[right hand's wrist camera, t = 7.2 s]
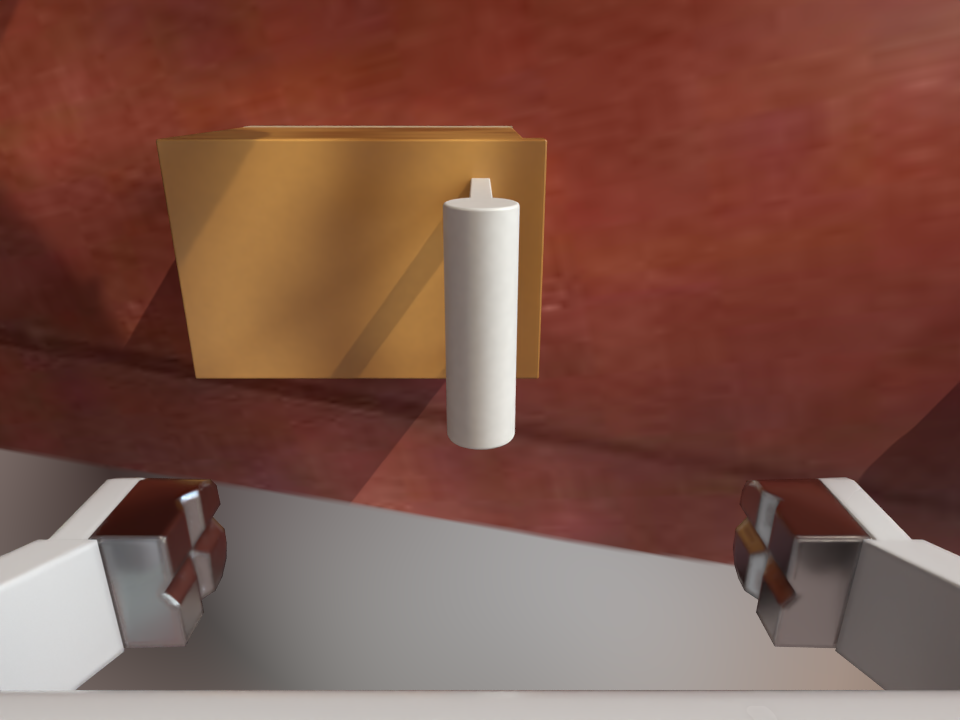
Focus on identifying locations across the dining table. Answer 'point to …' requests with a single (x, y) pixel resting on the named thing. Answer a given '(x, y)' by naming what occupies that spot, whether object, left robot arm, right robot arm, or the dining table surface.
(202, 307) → the lid
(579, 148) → the dining table surface
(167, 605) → the right robot arm
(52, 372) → the dining table surface
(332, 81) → the dining table surface
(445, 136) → the chest
